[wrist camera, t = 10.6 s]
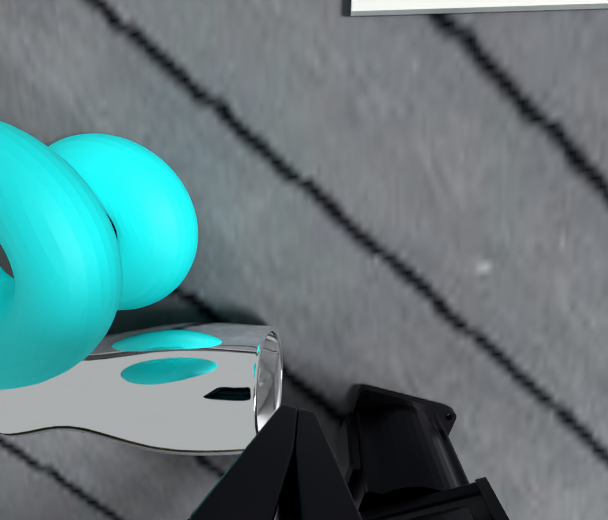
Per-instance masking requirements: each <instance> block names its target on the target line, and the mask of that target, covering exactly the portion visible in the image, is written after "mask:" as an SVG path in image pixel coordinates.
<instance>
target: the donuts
mask: <svg viewBox="0 0 608 520" xmlns="http://www.w3.org/2000/svg"><path fill="white" fill-rule="evenodd" d="M108 216H109V217H110V218H111V220H112V222H113V224H114V226H115V229H116V232H117V238H116V235H115V232H114V229H113V226H112V224H111V222H110V220H109V217H108ZM0 244H1V246H2V248H3V249H4V251H5V253H6V255H7V257H8V260H9V262H10V265H11V268H12V271H13V275H14V278H12V277H11V276H10V275H8V274H7V273H6V272H5V271H4V270H3V269H2V268H1V267H0V390H6V389H15V388H20V387H26V386H31V385H35V384H39V383H42V382H45V381H47V380H49V379H52V378H54V377H56V376H59V375H61V374H63V373H65V372H67V371H68V370H70V369H71V368H73V367H74V366H76V365H77V364H78V363H80V362H81V361H82V360H84V359H85V358H86V357H87V356H88V355H89V354H90V353H91V352H92V351H93V350H94V349H95V348H96V347H97V346H98V344H99V343H100V342H101V341H102V339H103V338H104V337H105V335H106V334H107V332H108V330H109V328H110V327H111V325H112V322H113V320H114V318H115V315H116V312H117V310H132V309H138V308H142V307H145V306H148V305H151V304H153V303H156V302H158V301H160V300H161V299H163V298H165V297H166V296H168V295H169V294H170V293H171V292H173V291H174V290H175V289H176V288H177V287H178V286H179V285H180V284H181V283H182V281H183V280H184V279H185V277H186V275H187V274H188V272H189V270H190V268H191V266H192V264H193V261H194V258H195V255H196V251H197V245H198V224H197V218H196V213H195V209H194V206H193V203H192V201H191V198H190V196H189V194H188V192H187V190H186V188H185V186H184V185H183V183H182V182H181V180H180V179H179V177H178V176H177V175H176V174H175V172H174V171H173V170H172V169H171V168H170V167H169V166H168V165H167V164H166V163H165V162H164V161H163V160H162V159H161V158H159V157H158V156H157V155H155V154H154V153H153V152H151V151H150V150H148V149H146V148H145V147H143V146H141V145H139V144H137V143H135V142H133V141H131V140H128V139H125V138H122V137H118V136H113V135H108V134H100V133H87V134H79V135H74V136H69V137H66V138H63V139H61V140H58V141H57V142H55V143H53V144H51V145H49V146H46V145H45V144H43V143H42V142H40V141H39V140H37V139H36V138H34V137H32V136H31V135H29V134H27V133H26V132H24V131H22V130H20V129H18V128H16V127H14V126H12V125H9V124H7V123H5V122H2V121H0Z"/></svg>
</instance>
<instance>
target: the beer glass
mask: <svg viewBox="0 0 608 520" xmlns="http://www.w3.org/2000/svg"><path fill="white" fill-rule="evenodd" d="M282 393H283V355H282V346H281V340H280V336H279V333H278V331H277V329H276V327H274V326H272V325H271V326H262V325H250V324H239V323H225V322H189V323H177V324H169V325H162V326H156V327H150V328H144V329H139V330H134V331H129V332H123V333H118V334H112V335H106V336H105V337H104V338H103V339H102V341H101V342H100V343H99V344H98V346H97V347H96V348H95V349H94V350H93V351H92V352H91V353H90V354H89V355H88V356H87V357H86V358H85V359H84V360H82V361H81V362H80V363H78V364H77V365H76V366H74V367H73V368H71V369H70V370H68V371H67V372H65V373H63V374H61V375H59V376H56V377H54V378H52V379H49V380H47V381H45V382H42V383H39V384H35V385H31V386H26V387H20V388H15V389H6V390H0V434H1V435H4V436H10V437H20V436H28V435H34V434H40V433H45V432H52V431H74V432H81V433H85V434H89V435H93V436H97V437H100V438H104V439H107V440H111V441H114V442H118V443H121V444H125V445H128V446H132V447H136V448H140V449H145V450H150V451H155V452H159V453H167V454H178V455H197V456H216V455H239V454H241V453H242V452H243V450H244V449H245V448H246V447H247V445H248V444H249V443H250V442H251V441H252V439H253V438H254V437H255V436H256V434H257V433H258V432H259V431H260V430H261V428H262V427H263V426H264V425H265V423H266V422H267V421H268V420H269V418H270V417H271V416H272V415H273V414H274V412H275V411H276V410H277V409H278V407H279V406H280V405H281V404H282Z"/></svg>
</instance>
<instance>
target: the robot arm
mask: <svg viewBox="0 0 608 520" xmlns="http://www.w3.org/2000/svg"><path fill="white" fill-rule="evenodd" d="M364 393H368V394H369V395H363V394H364ZM447 414H449V415H448V416H445V415H447ZM455 420H456V414H455V412H454V410H453V409H452V408H451V407H448V406H444V405H440V404H436V403H432V402H428V401H424V400H421V399H417V398H413V397H409V396H405V395H401V394H397V393H393V392H389V391H385V390H381V389H377V388H374V387H370V386H362V387H361V388H360V389H359V390H358V393H357V396H356V399H355V402H354V405H353V408H352V411H351V412H348V413H347V414H346V415H345V418H344V421H343V424H342V427H341V430H340V432H339V435H338V438H337V442H336V445H337V461H336V458H335V456H334V454H333V452H332V449H331V447H330V445H329V442H328V440H327V438H326V435H325V433H324V431H323V429H322V426H321V424H320V422H319V419H318V417H317V415H316V413H315V412H314V411H311V410H307V409H303V408H300V409H299V410H298V409H297V407H295V406H291V405H287V404H281V405H280V406H279V407H278V409H277V410H276V411H275V412H274V414H273V415H272V416H271V417H270V418H269V420H268V421H267V422H266V423H265V425H264V426H263V427H262V428H261V430H260V431H259V432H258V433H257V434H256V436H255V437H254V438H253V439H252V441H251V442H250V443H249V444H248V445H247V447H246V448H245V449H244V450H243V452H242V453H241V454H240V455H239V457H238V458H237V459H236V460H235V461H234V463H233V464H232V465H231V466H230V468H229V469H228V470H227V471H226V472H225V474H224V475H223V476H222V477H221V479H220V480H219V481H218V482H217V484H216V485H215V486H214V487H213V488H212V490H211V491H210V492H209V493H208V495H207V496H206V497H205V498H204V500H203V501H202V502H201V503H200V504H199V506H198V507H197V508H196V509H195V511H194V512H193V513H192V514H191V516H190V518H189V519H187V520H274V518H275V514H276V520H509V518H508V516H507V515H506V513H505V511H504V509H503V507H502V506H501V504H500V502H499V500H498V498H497V497H496V495H495V493H494V491H493V489H492V488H491V486H490V484H489V482H488V480H487V478H486V477H484V478H480V479H476V480H475V482H474V483H470V484H469V481H468V479H467V477H466V475H465V472H464V470H463V468H462V466H461V463H460V461H459V459H458V457H457V455H456V452H455V450H454V448H453V446H452V443H451V441H450V439H449V437H448V435H449V433H450V431H451V429H452V426H453V424H454V422H455ZM276 511H277V513H276Z"/></svg>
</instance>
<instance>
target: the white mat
mask: <svg viewBox="0 0 608 520" xmlns="http://www.w3.org/2000/svg"><path fill="white" fill-rule="evenodd" d="M607 8H608V0H351V16H374V15H408V14H441V13H474V12H507V11H540V10H574V9H607Z"/></svg>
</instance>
